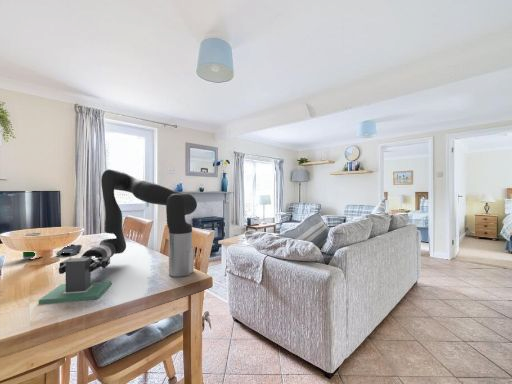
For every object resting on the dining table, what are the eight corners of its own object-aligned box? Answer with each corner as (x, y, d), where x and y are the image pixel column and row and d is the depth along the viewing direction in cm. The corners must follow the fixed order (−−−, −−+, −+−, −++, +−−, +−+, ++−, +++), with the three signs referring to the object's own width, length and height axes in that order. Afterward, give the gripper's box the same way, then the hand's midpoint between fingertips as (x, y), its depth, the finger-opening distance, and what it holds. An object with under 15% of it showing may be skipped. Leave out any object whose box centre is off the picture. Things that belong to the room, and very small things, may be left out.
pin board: (111, 284, 88) (111, 274, 88) (97, 299, 76) (97, 287, 76) (61, 287, 85) (61, 277, 85) (38, 303, 73) (38, 291, 73)
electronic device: (60, 254, 133) (54, 257, 120) (62, 244, 134) (56, 245, 121) (81, 254, 137) (76, 257, 124) (82, 244, 138) (78, 246, 125)
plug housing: (90, 286, 83) (90, 257, 83) (85, 291, 79) (85, 260, 79) (72, 287, 82) (72, 258, 82) (65, 292, 78) (65, 261, 78)
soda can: (42, 258, 118) (42, 234, 118) (21, 261, 114) (21, 236, 114) (44, 255, 124) (44, 232, 124) (24, 257, 120) (24, 233, 120)
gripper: (76, 247, 93) (50, 259, 77) (117, 246, 96) (99, 257, 80) (76, 266, 93) (50, 283, 77) (117, 264, 96) (99, 280, 80)
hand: (75, 270), depth 79 cm, fingers open, 8 cm apart
